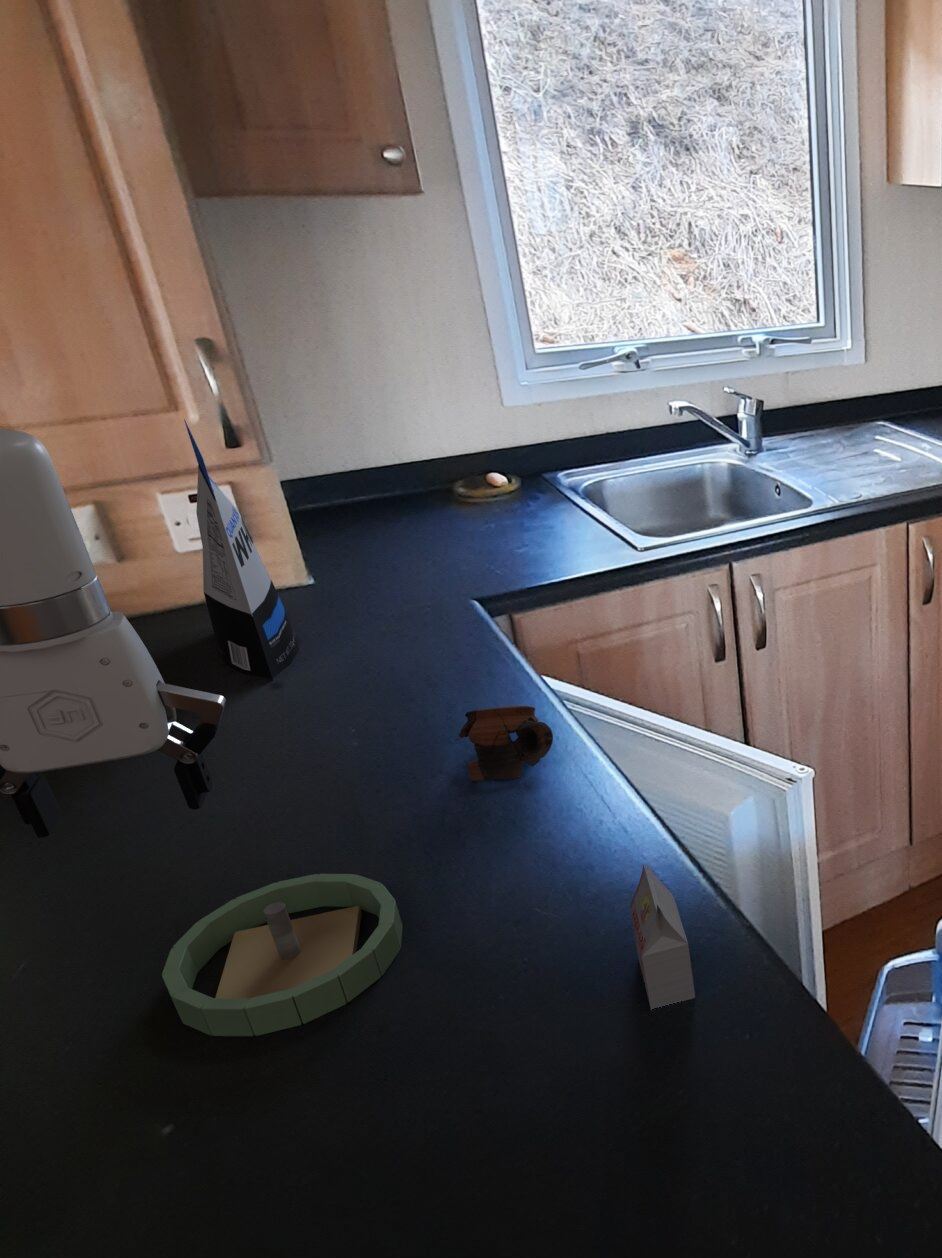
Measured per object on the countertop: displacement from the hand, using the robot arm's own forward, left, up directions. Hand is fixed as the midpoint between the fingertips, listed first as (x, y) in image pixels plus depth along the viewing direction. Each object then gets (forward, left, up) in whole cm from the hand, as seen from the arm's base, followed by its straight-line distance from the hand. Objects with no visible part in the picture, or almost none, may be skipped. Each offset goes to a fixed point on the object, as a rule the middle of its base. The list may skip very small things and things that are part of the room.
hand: (126, 813), depth 81 cm
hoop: (+7, 0, -18) cm, 19 cm away
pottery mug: (+26, +28, -18) cm, 42 cm away
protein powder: (-6, +73, -18) cm, 76 cm away
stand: (+7, 0, -18) cm, 19 cm away
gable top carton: (+37, -14, -18) cm, 43 cm away
